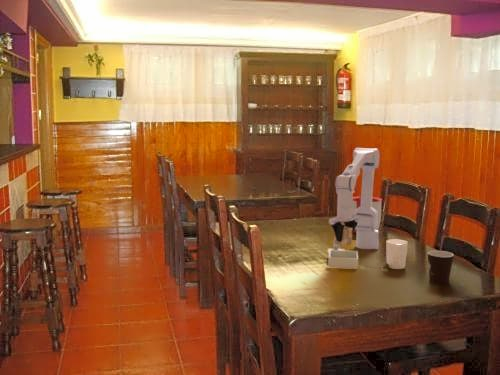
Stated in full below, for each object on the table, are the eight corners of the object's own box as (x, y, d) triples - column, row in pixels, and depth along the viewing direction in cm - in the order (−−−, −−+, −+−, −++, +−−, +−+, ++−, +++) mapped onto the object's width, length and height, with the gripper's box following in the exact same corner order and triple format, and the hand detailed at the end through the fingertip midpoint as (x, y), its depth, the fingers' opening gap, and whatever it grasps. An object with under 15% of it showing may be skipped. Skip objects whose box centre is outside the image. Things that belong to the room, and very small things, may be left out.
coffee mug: (449, 286, 182) (450, 258, 181) (423, 282, 187) (424, 254, 185) (456, 277, 192) (457, 250, 191) (431, 273, 197) (433, 247, 195)
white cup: (406, 265, 208) (408, 240, 206) (405, 270, 200) (407, 244, 199) (386, 263, 210) (387, 238, 209) (384, 268, 203) (385, 243, 202)
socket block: (343, 241, 211) (343, 226, 210) (351, 244, 207) (352, 228, 206) (335, 243, 208) (335, 227, 207) (343, 245, 205) (343, 229, 204)
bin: (357, 260, 213) (357, 251, 213) (358, 268, 202) (358, 258, 202) (329, 259, 215) (329, 249, 215) (328, 267, 204) (328, 257, 204)
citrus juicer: (344, 235, 257) (345, 194, 254) (352, 228, 273) (353, 189, 270) (377, 238, 251) (379, 196, 248) (383, 230, 267) (384, 191, 264)
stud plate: (344, 251, 227) (344, 237, 226) (344, 256, 220) (344, 241, 219) (327, 251, 228) (328, 236, 227) (327, 255, 221) (327, 240, 220)
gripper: (338, 209, 198) (337, 245, 200) (365, 205, 206) (364, 239, 208) (325, 206, 204) (324, 241, 206) (352, 203, 212) (351, 236, 214)
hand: (343, 240), depth 207 cm, fingers closed on socket block, 5 cm apart
